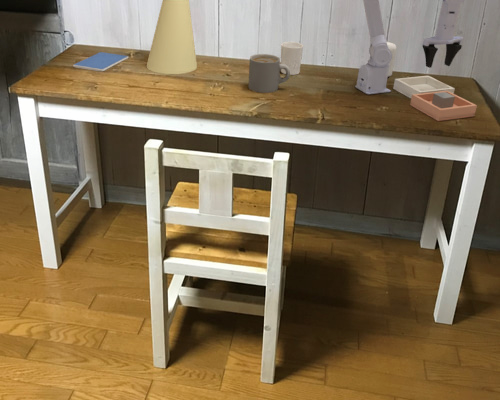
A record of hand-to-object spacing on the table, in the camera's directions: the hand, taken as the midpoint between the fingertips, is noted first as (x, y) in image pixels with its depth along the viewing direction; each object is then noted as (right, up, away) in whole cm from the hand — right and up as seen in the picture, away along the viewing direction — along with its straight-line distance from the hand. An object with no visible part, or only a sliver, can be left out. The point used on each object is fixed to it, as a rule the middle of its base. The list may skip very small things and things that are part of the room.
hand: (437, 66), depth 188 cm
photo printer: (-15, 0, +18) cm, 24 cm away
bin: (-2, -16, -9) cm, 19 cm away
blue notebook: (-117, +5, +19) cm, 119 cm away
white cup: (-48, +2, +18) cm, 51 cm away
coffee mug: (-56, -7, +2) cm, 57 cm away
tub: (-4, -8, +4) cm, 10 cm away
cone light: (-91, +6, +21) cm, 93 cm away
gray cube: (-2, -15, -10) cm, 18 cm away
